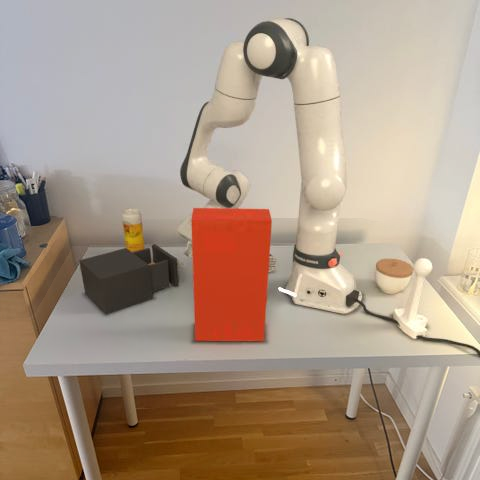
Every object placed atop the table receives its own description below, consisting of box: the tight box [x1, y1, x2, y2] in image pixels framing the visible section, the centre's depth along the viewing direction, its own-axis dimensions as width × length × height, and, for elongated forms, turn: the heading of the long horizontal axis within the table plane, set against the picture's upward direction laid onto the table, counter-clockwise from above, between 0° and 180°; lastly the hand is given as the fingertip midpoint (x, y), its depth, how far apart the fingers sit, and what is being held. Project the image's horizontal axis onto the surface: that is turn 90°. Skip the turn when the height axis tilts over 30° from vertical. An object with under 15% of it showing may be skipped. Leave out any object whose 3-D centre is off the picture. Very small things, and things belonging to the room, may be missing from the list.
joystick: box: [392, 257, 433, 339], centre depth 119 cm, size 11×8×20 cm
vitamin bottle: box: [121, 208, 145, 252], centre depth 153 cm, size 6×6×15 cm
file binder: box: [191, 207, 273, 342], centre depth 111 cm, size 8×17×32 cm, turn 92°
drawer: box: [132, 243, 186, 293], centre depth 137 cm, size 17×13×9 cm
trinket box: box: [374, 258, 414, 295], centre depth 139 cm, size 11×11×9 cm
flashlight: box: [268, 253, 278, 273], centre depth 153 cm, size 15×5×5 cm, turn 25°
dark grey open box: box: [78, 247, 153, 315], centre depth 131 cm, size 14×14×11 cm
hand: (187, 256), depth 143 cm, fingers closed
